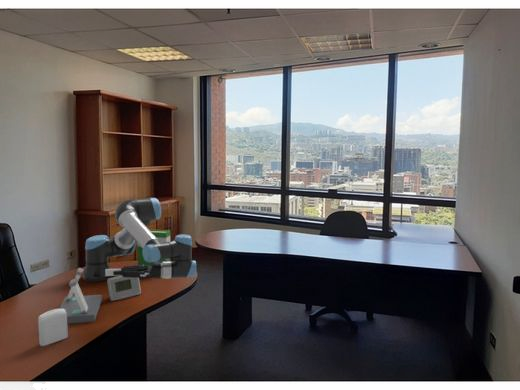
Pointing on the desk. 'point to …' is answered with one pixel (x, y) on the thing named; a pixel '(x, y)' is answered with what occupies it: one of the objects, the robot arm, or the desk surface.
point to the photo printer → (52, 326)
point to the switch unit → (75, 312)
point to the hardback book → (162, 237)
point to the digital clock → (123, 287)
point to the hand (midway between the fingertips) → (105, 272)
